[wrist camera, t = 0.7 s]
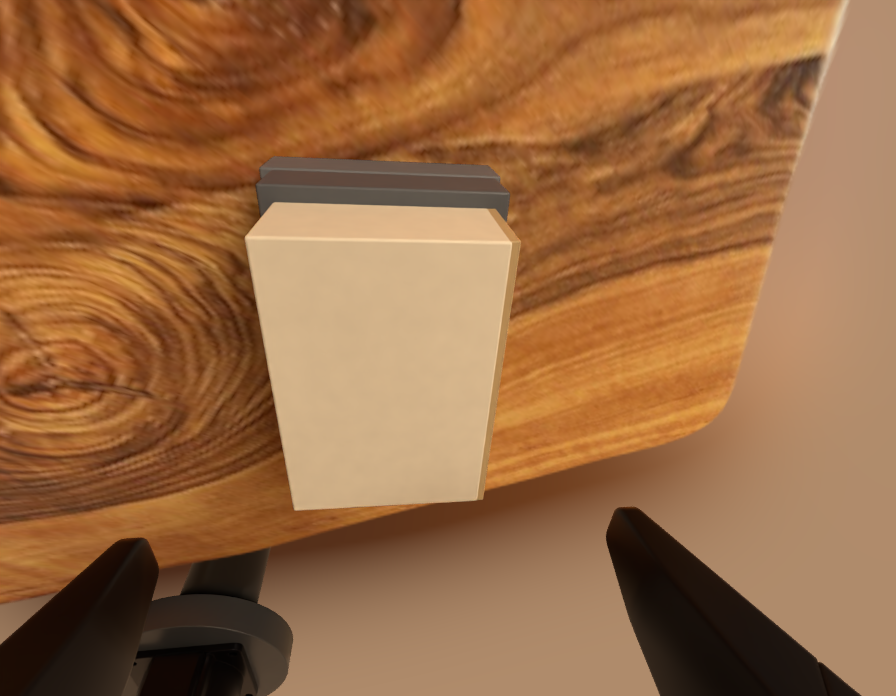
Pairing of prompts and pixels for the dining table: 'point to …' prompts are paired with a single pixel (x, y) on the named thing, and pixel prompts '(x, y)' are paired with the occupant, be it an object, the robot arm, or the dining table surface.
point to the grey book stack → (379, 184)
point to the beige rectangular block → (383, 347)
